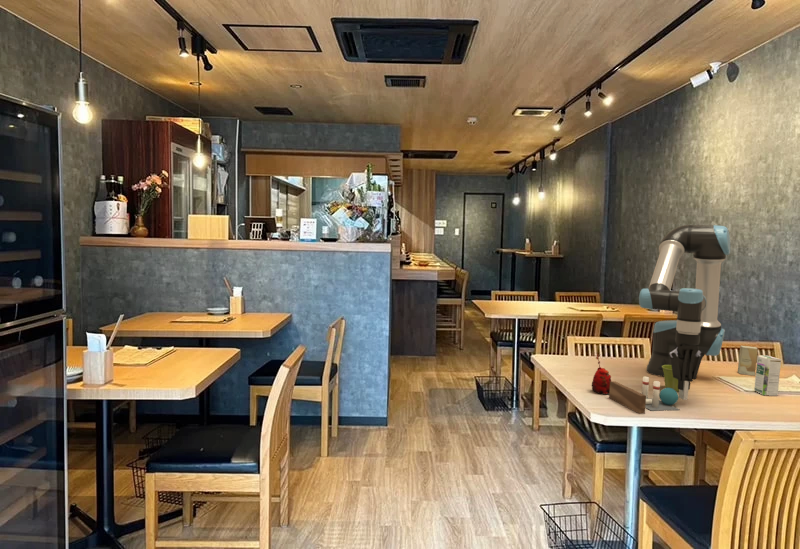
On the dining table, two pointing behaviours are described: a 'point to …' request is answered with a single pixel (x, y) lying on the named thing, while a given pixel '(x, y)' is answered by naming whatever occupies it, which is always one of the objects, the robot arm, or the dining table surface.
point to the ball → (668, 396)
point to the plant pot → (670, 378)
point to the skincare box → (747, 360)
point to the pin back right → (645, 386)
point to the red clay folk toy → (601, 380)
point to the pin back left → (655, 394)
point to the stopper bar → (627, 397)
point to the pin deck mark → (660, 407)
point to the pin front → (648, 401)
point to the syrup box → (767, 375)
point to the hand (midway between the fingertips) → (682, 398)
